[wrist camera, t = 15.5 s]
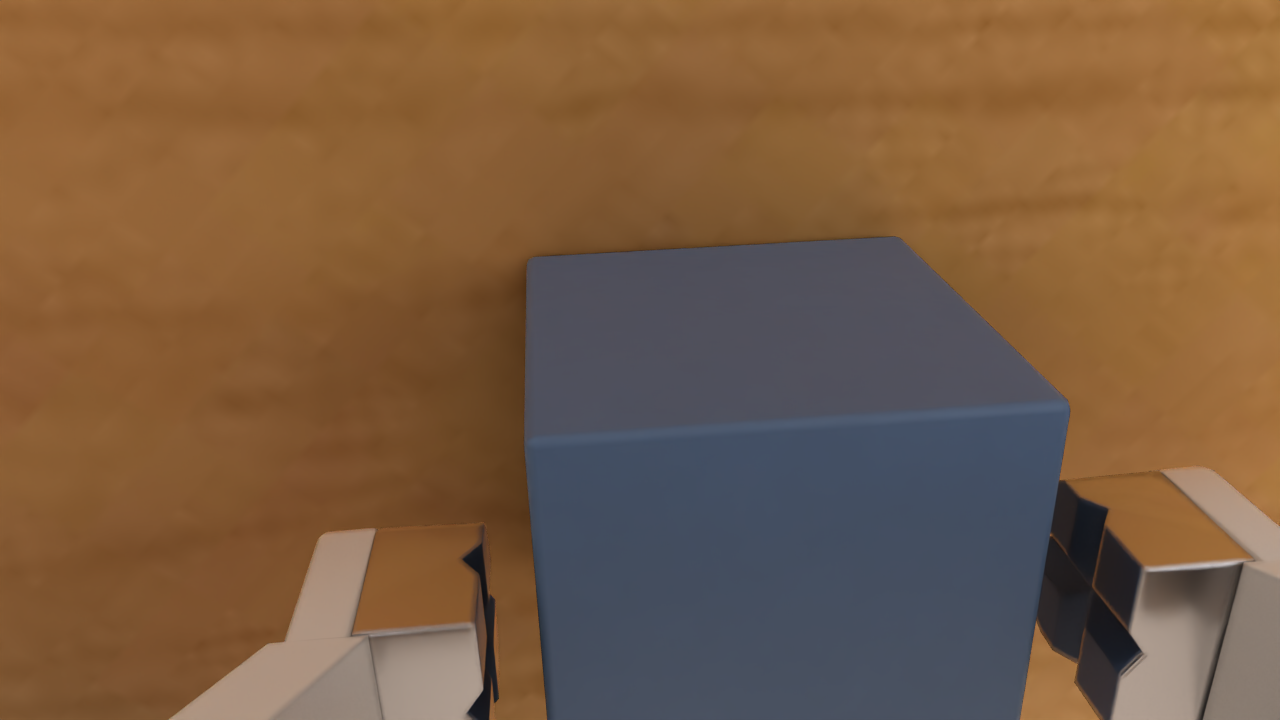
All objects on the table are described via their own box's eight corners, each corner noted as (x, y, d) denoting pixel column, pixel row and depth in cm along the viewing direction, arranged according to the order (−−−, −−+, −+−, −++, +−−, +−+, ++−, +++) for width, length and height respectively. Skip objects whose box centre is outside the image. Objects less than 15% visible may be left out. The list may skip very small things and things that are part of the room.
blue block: (525, 254, 12) (522, 440, 8) (900, 233, 12) (1076, 402, 8) (550, 570, 14) (558, 848, 10) (875, 545, 14) (1009, 804, 10)
